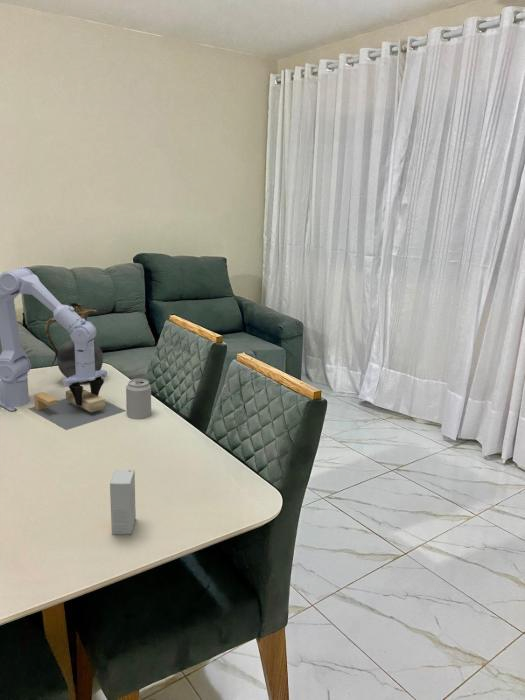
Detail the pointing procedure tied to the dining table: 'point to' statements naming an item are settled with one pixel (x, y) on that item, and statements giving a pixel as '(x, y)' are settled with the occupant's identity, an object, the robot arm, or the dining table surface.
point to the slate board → (69, 411)
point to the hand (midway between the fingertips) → (86, 402)
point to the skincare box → (122, 501)
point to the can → (138, 399)
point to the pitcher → (73, 347)
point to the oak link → (87, 400)
